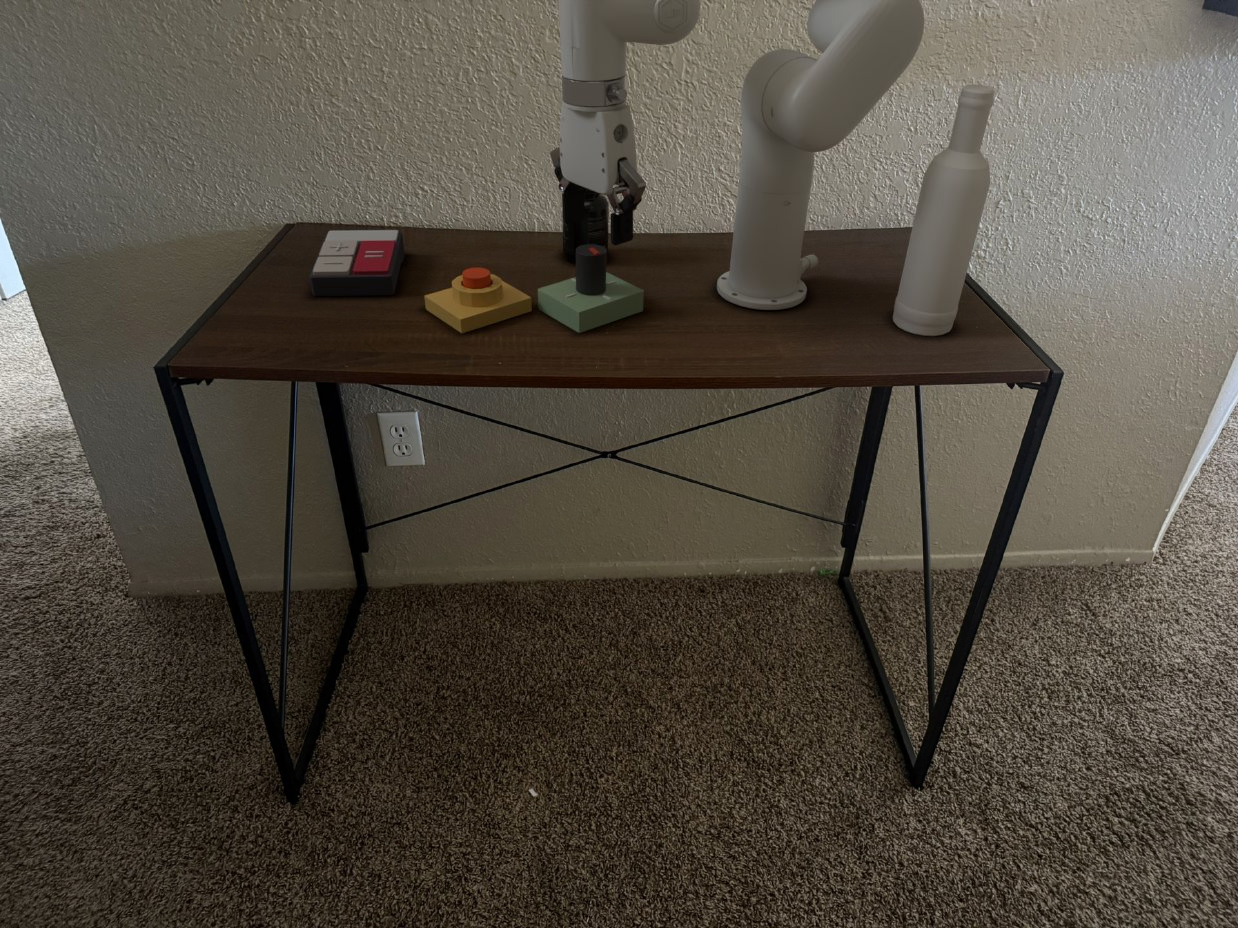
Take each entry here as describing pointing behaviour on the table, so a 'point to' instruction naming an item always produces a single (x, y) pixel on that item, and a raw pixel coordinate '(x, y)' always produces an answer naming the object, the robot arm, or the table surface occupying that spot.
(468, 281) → the button
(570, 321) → the dial panel
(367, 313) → the table surface
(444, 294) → the tan flat block
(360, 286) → the calculator
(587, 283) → the lock dial
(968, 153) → the bottle
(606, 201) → the supplement bottle
